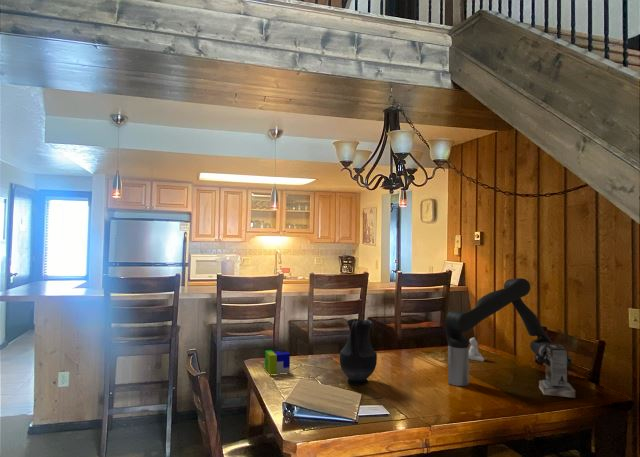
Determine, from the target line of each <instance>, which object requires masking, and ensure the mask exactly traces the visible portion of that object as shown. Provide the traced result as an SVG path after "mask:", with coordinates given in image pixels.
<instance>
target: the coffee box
mask: <svg viewBox="0 0 640 457" xmlns="http://www.w3.org/2000/svg"><path fill="white" fill-rule="evenodd" d="M567 356H568V350H567V348H566V347H565V346H563V345H562V344H561V343H553V344H546V357H547V359H548V360H549V361H550V366H548V365H546V364H545V380H548V382H549V383H550V384H551V385H552V386H567V383H568V367H567Z"/></svg>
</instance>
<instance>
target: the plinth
mask: <svg viewBox="0 0 640 457" xmlns="http://www.w3.org/2000/svg"><path fill="white" fill-rule="evenodd" d="M538 388H539V390H540V391H541V393H542V394H543V395H544V396H554V397H565V398H566V397H567V398H574V399H576V390H575V388H574V387H573V386H572V385H571V384H570V383H569V382H567V386H552V385H551V384H550V383H549V382H548V380H547V379H542V380H538Z"/></svg>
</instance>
